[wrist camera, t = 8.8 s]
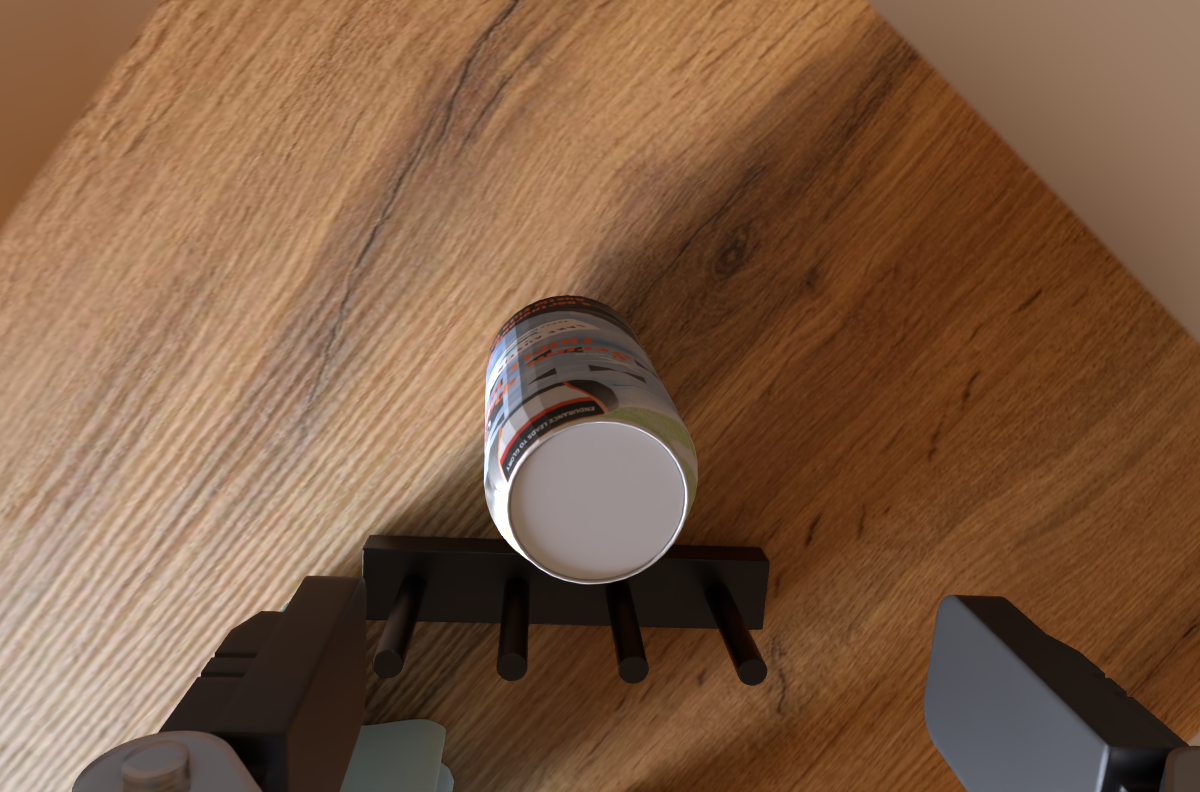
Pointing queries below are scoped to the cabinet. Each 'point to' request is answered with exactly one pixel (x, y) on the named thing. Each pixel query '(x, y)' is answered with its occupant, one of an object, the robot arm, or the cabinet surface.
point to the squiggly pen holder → (398, 758)
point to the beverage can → (583, 444)
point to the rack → (561, 599)
